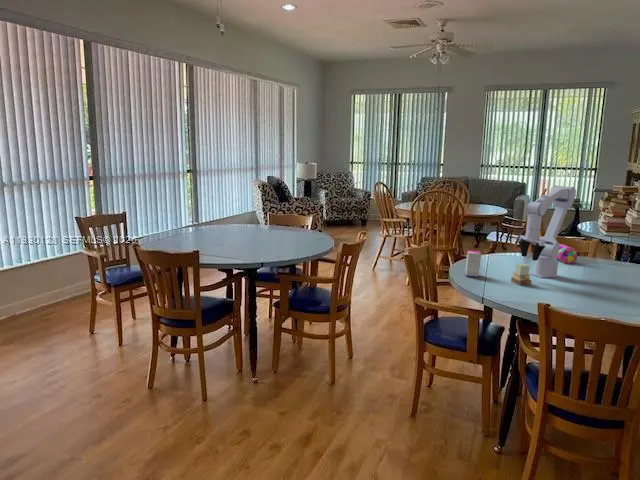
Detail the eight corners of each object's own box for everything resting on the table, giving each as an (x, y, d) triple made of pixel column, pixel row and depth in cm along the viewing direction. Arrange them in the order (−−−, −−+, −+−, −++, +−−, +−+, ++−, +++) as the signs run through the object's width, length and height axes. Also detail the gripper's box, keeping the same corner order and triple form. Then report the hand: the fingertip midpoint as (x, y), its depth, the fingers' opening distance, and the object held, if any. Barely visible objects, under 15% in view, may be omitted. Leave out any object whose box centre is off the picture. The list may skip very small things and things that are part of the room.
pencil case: (539, 254, 281) (541, 239, 279) (555, 254, 281) (557, 239, 280) (561, 264, 259) (563, 247, 258) (578, 264, 260) (580, 247, 258)
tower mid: (522, 277, 224) (523, 271, 223) (529, 280, 219) (530, 274, 219) (512, 277, 223) (513, 272, 222) (519, 280, 218) (520, 275, 217)
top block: (523, 272, 222) (524, 263, 221) (528, 274, 218) (529, 266, 217) (515, 272, 222) (516, 263, 221) (519, 274, 218) (521, 265, 217)
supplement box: (478, 277, 228) (481, 253, 226) (465, 276, 229) (467, 252, 227) (477, 274, 233) (479, 251, 231) (464, 273, 235) (466, 250, 232)
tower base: (522, 282, 225) (522, 276, 224) (530, 285, 219) (531, 280, 218) (510, 282, 223) (511, 277, 223) (519, 286, 217) (519, 281, 217)
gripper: (515, 226, 227) (511, 254, 230) (536, 231, 214) (532, 262, 216) (528, 226, 229) (524, 254, 232) (550, 231, 215) (546, 261, 218)
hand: (529, 258), depth 224 cm, fingers open, 7 cm apart
